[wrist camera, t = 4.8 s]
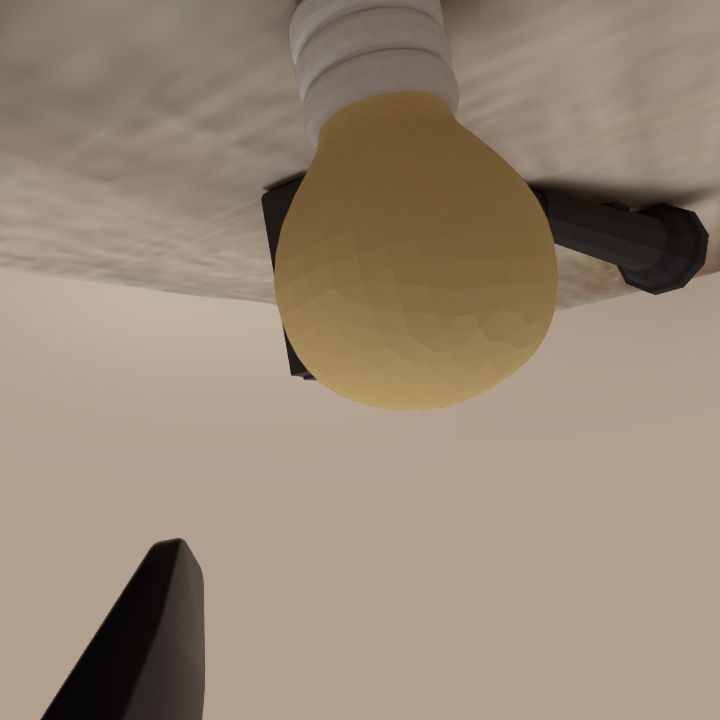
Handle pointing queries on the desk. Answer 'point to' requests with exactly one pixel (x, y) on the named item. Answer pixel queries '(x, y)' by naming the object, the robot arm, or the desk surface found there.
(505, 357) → the light bulb
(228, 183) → the desk surface
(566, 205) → the microphone
